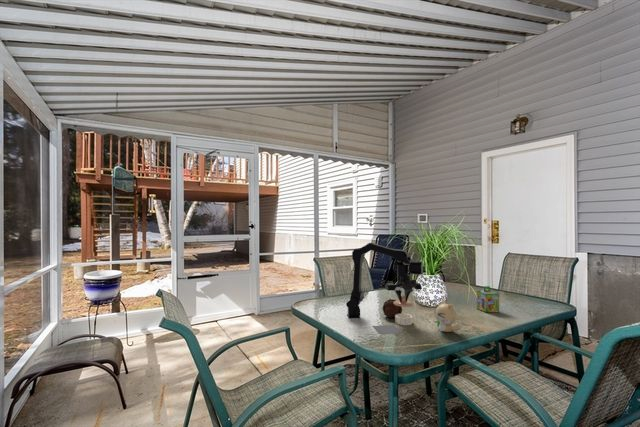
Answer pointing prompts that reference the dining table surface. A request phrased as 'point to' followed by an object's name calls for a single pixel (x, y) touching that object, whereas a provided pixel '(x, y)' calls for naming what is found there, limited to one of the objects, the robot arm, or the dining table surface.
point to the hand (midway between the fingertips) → (403, 302)
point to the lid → (403, 302)
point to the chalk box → (487, 300)
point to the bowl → (404, 319)
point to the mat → (387, 329)
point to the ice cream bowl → (391, 309)
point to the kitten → (446, 317)
